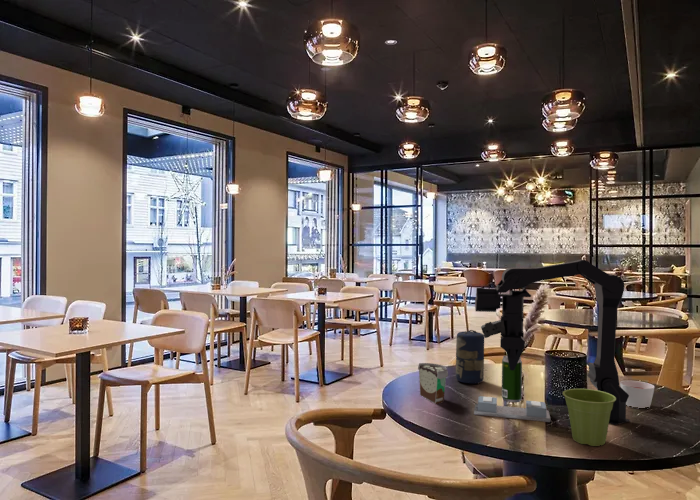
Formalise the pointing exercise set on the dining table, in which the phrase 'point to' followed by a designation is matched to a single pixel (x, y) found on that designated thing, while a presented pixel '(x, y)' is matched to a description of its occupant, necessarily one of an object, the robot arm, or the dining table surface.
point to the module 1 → (487, 404)
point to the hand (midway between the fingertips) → (512, 367)
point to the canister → (470, 357)
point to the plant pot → (589, 414)
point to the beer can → (511, 381)
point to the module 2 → (535, 408)
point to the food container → (432, 381)
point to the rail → (512, 413)
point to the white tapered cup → (638, 393)
